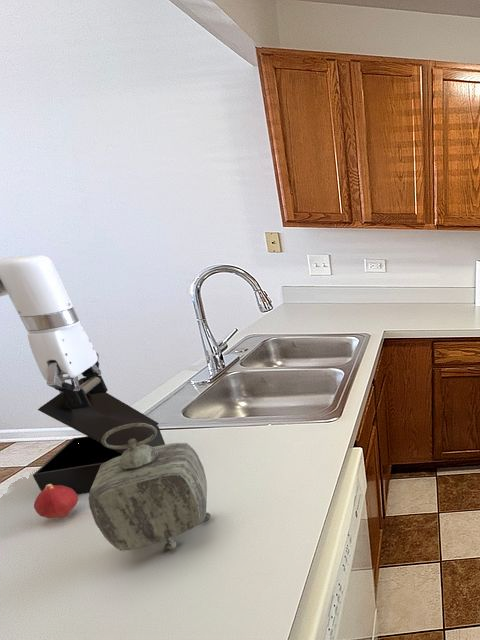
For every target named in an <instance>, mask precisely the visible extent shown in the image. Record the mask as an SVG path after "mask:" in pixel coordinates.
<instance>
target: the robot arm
mask: <svg viewBox="0 0 480 640" xmlns="http://www.w3.org/2000/svg"><path fill="white" fill-rule="evenodd" d="M3 296H8V297H9V299H10V301H11V303H12V305H13V307H14V308H15V310H16V313H17V314H18V316H19V318H20V320H21V322H22V324H23V326H24V328H25V329H26V331H27V340H28V343H29V347H30V351H31V353H32V355H33V357H34V360H35V362H36V365H37V368H38V369H39V371H40V373H41V375H42V378H43V379H44V380H45V381H46V385H47V387H51V388H53V389H55V391H58V392H59V394H60V393H61V394H62V393H63V395H64V397H65V399H66V401H67V403H68V405H69V407H70V408H71V409H79V408H86V407H89V406H90V405H91V404H90V402H89V400H88V398H87V396H86V394H85V392H84V390H83V389H80V387H79V381H78V380H79V377H78V376H80V375H81V376H83V377H81V378H82V380H83V382H86V381H87V380H89V379H90V378H91V377H98V378H100V380H101V382H100V383H99V384H98V385H96V386H95V387H94V388H92V389H91V390H90V391H89V394H99V393H105V392H106V393H108V391H109V389H108V387H107V385H106V383H105V381H104V378H103V376H102V371H101V369H100V362H99V358H100V357H99V356H100V354H99V353H98V352H96V350H95V347H94V345H93V343H92V341H91V339H90V338H89V335H88V334H87V332H86V330H85V329H84V328H83V326H82V324H81V321H80V319H79V316H78V314H77V313H76V310H75V307H74V305H73V303H72V301H71V299H70V297H69V294H68V292H67V290H66V288H65V285H64V283H63V280H62V279H61V277H60V275H59V272H58V270H57V268H56V266H55V264H54V262H53V260H52V259H51V258H49V257H48V256H46V255H42V254H26V255H25V254H24V255H15V256H7V257H0V297H3ZM64 375H67V376H64ZM69 380H70V383H69V382H66V381H69Z"/></svg>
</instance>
